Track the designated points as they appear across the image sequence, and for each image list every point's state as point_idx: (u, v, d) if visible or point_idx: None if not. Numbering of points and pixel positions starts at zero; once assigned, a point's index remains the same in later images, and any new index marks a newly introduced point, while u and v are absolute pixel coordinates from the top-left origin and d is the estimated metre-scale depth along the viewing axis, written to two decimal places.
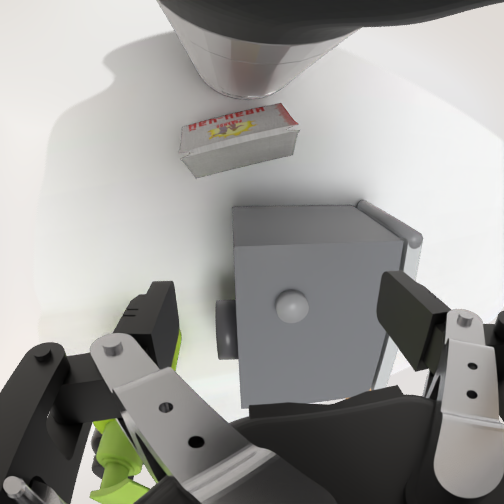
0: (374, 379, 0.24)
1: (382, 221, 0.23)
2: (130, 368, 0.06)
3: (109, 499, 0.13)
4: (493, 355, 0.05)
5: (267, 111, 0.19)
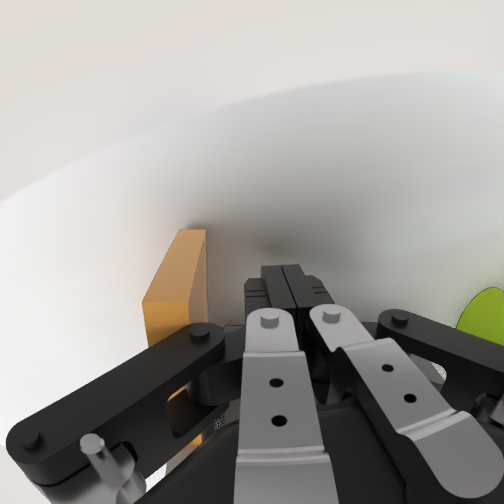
0: None
1: None
2: (274, 342, 0.07)
3: None
4: (397, 347, 0.06)
5: None
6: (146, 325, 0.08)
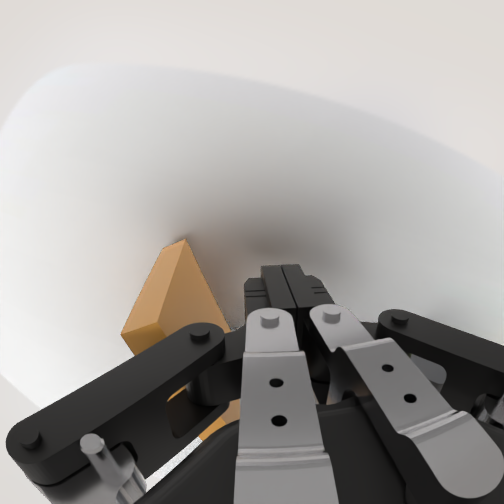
0: None
1: None
2: (274, 342, 0.07)
3: None
4: (397, 347, 0.06)
5: None
6: (134, 353, 0.08)
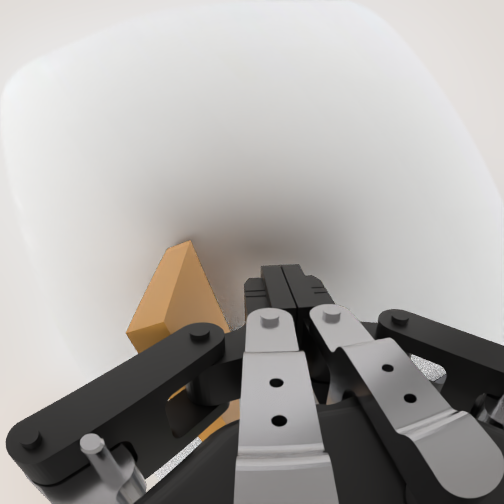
0: None
1: None
2: (274, 342, 0.07)
3: None
4: (397, 347, 0.06)
5: None
6: (139, 352, 0.08)
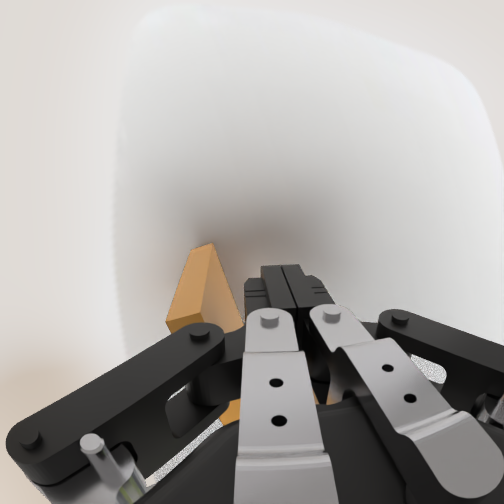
0: None
1: None
2: (274, 342, 0.07)
3: None
4: (397, 347, 0.06)
5: None
6: None
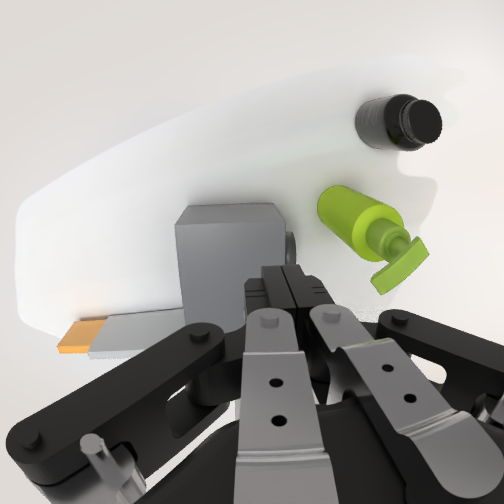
0: (96, 350, 0.36)
1: None
2: (274, 342, 0.07)
3: (410, 267, 0.23)
4: (398, 347, 0.06)
5: None
6: None
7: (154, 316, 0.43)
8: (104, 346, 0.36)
